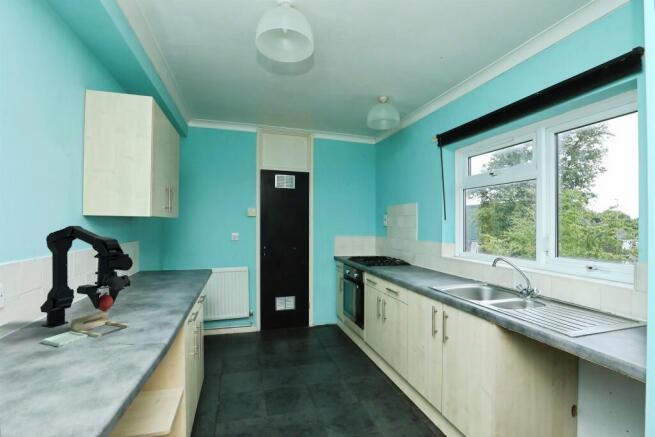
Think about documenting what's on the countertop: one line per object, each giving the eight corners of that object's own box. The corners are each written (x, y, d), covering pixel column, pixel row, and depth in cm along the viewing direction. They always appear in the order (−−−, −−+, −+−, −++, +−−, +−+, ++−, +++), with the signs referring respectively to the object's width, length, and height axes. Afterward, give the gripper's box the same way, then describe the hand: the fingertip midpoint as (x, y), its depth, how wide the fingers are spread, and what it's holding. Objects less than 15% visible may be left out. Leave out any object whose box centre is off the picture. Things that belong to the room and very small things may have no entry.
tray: (41, 342, 112) (41, 339, 112) (70, 334, 121) (70, 331, 121) (59, 346, 109) (59, 343, 109) (87, 337, 118) (87, 334, 118)
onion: (103, 314, 123) (104, 294, 123) (91, 313, 124) (92, 293, 124) (116, 310, 128) (117, 291, 128) (104, 309, 130) (105, 290, 130)
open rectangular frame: (70, 332, 124) (71, 319, 124) (103, 322, 136) (103, 311, 136) (97, 337, 119) (98, 324, 119) (129, 326, 132) (129, 315, 132)
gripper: (97, 274, 115) (95, 315, 115) (141, 267, 133) (139, 303, 133) (76, 271, 118) (74, 312, 118) (121, 265, 136) (120, 300, 136)
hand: (104, 306), depth 126 cm, fingers closed on onion, 6 cm apart
